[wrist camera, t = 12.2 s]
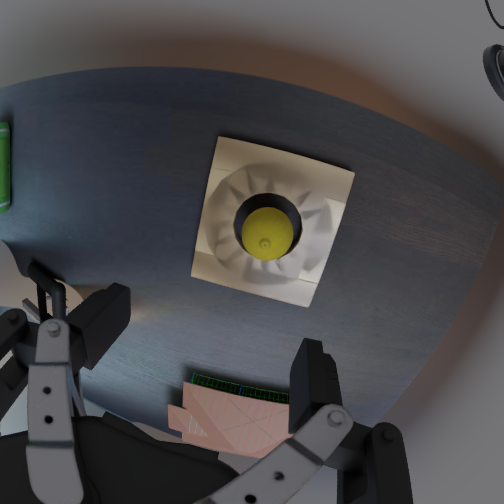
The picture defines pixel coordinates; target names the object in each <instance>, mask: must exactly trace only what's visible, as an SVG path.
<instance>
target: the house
mask: <svg viewBox="0 0 504 504" xmlns="http://www.w3.org/2000/svg"><path fill="white" fill-rule="evenodd" d="M194 374H195V373H193V375H192V377H191V380H190V382H185V381H184V382H183V402H182V405H181V407H178V406H175V405H171V404H168V419H169V428H171V429H174V430H178V431H181V432H182V441H185V442H188V443H192V444H196V445H199V446H203V447H207V448H211V449H215V450H219V451H224V452H228V453H234V454H238V455H244V456H250V457H256V458H263V457H264V456H266V455H267V454H268V453H269V452H271V451H272V450H273V449H274V448H275V447H277V446H278V445H279V444H280V443H281V442H283V441H284V440H285V439H287V438H290V437H291V436H293V434H288V423H289V404H288V395H289V394H287V404H283V403H277V402H274V400H273V402H271V401H265V400H260V398H259V399H254V398H249V397H246V395H245V396H240V393H241V388H242V386H243V385H240V386H241V387H240V391H239V395H235V394H231V393H230V392H229V393H227V392H222V391H218V390H216V389H215V390H214V389H211V388H207V386H206V387H203V386H202V385H201V386H199V385H196V384H194V383H193V381H194V380H192V379H193V378H194ZM196 375H199V374H196ZM200 376H202V375H200ZM196 377H197V376H196ZM205 377H206V376H204V378H205ZM199 378H200V377H199ZM207 378H210V377H207ZM195 379H196V378H195ZM211 379H213V380H214V378H211ZM215 380H218V379H215ZM198 381H199V380H198ZM203 381H204V380H203ZM208 381H209V380H208ZM219 381H222V380H219ZM194 382H197V381H194ZM223 382H226V381H223ZM223 382H222V383H223ZM199 383H201V382H199ZM217 383H218V382H217ZM227 383H230V382H227ZM197 384H198V383H197ZM202 384H204V383H202ZM212 384H213V382H212ZM232 384H234V383H231V385H232ZM206 385H209V384H208V383H207V384H206ZM236 385H239V384H236ZM221 386H222V385H221ZM226 386H227V385H226ZM211 387H212V385H211ZM214 387H217V385H216V386H214ZM244 387H248V386H244ZM218 388H221V387H218ZM250 388H251V390H252V388H253V387H250ZM222 389H224V388H222ZM235 389H236V388H235ZM254 389H258V388H254ZM220 390H221V389H220ZM225 390H226V389H225ZM227 390H229V389H227ZM260 390H263V389H260ZM230 391H232V390H231V388H230ZM265 391H268V390H265ZM235 392H238V391H234V393H235ZM246 392H247V390H246ZM270 392H274V391H270ZM243 393H244V391H243ZM260 393H261V391H260ZM276 393H280V392H276ZM244 394H246V393H244ZM282 394H286V393H282ZM248 395H250V396H251V395H252V394H248ZM254 396H256V393H255V395H254ZM258 397H262V396H258ZM269 397H270V393H269ZM265 398H267V397H265V396H264V399H265ZM270 399H273V398H270ZM275 400H279V394H278V399H275ZM282 401H284V400H282Z"/></svg>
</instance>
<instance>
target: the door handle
mask: <svg viewBox="0 0 504 504" xmlns="http://www.w3.org/2000/svg"><path fill="white" fill-rule="evenodd" d="M28 276H29V277H30V279H32V280H33V281H34V282H35V283H36V284H37V296H38V307H39V309H38V308H37V307H36V306H35V305H34V304H33V303H32V302H31V301H29V300H28V299H27V298H26V299H24V300H23V301H22V303H23V307H24V308H25V309H26V310H27V311H28V312H29V313H30V314H31V315H33V316H34V317H35V318H36V319H37V320H38V321H39V322H40V324H42V323H43V322H44V321H46V320H48V319H53V318H57V319H61V320H62V319H63V318H64V317H65V316H67V315H68V307H67V306H66V300H67V299H66V289H65V286H64V285H63V284H62V283H59V282H57V281H56V280H54V279H53V278H52V277H51V276H49V275H48V274H47V273H46V272H44V271H43V270H42V269H41V268H39V267H38V266H37V265H36V264H35V263H30V264H29V266H28ZM46 292H47V293H48V294H49V295H50V296H47V297H46ZM46 299H52V311H53V317H52V316H51V315H50V314H49V313H47V306H46Z"/></svg>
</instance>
